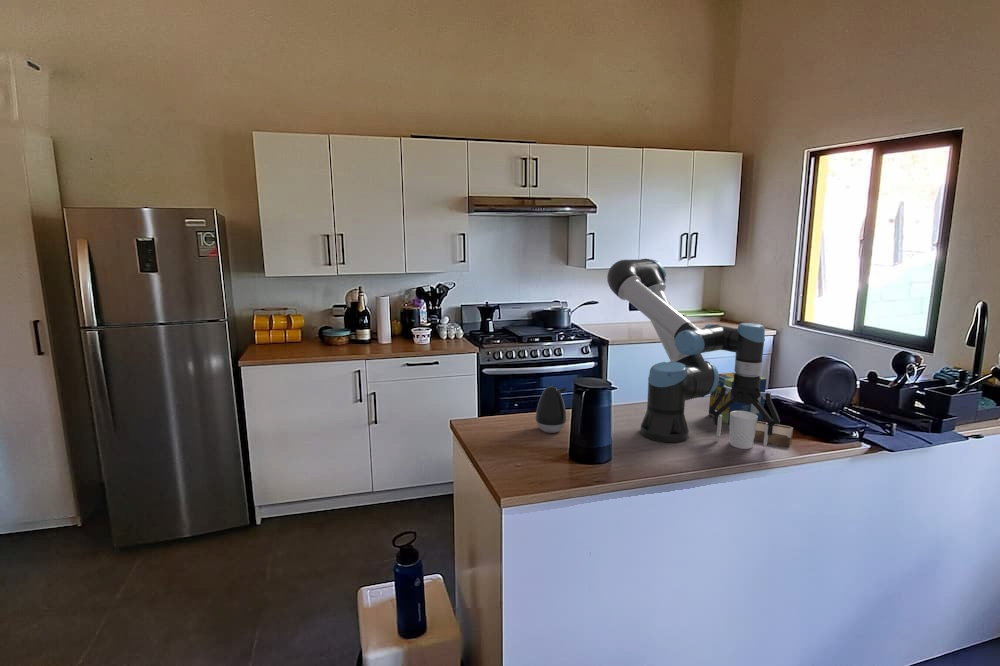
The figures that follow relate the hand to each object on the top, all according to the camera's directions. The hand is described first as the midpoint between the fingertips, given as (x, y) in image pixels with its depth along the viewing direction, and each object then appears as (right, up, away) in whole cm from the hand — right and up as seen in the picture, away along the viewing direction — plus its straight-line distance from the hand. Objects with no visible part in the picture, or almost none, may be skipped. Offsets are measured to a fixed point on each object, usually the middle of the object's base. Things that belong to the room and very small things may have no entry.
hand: (741, 439), depth 171 cm
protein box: (+9, +3, +26) cm, 28 cm away
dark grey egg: (-59, +1, +12) cm, 60 cm away
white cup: (0, -2, 0) cm, 2 cm away
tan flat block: (+11, 0, +7) cm, 14 cm away
